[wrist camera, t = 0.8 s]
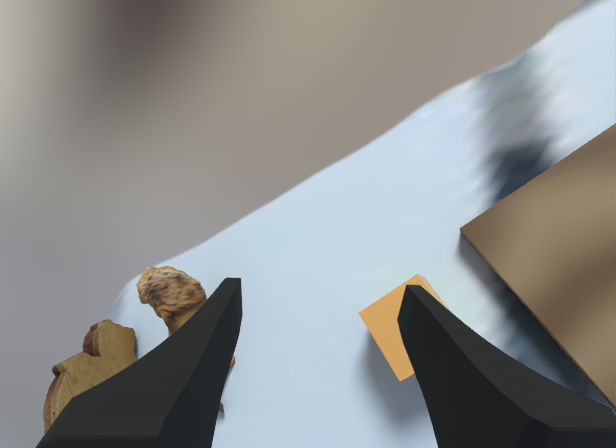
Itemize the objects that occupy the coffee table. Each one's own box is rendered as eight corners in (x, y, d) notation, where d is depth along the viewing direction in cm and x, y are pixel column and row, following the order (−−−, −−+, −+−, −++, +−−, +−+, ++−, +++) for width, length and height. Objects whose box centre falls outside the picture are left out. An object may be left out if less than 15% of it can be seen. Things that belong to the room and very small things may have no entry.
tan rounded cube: (468, 336, 23) (468, 343, 19) (409, 369, 24) (399, 381, 21) (424, 277, 25) (417, 274, 21) (373, 310, 26) (358, 312, 23)
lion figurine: (195, 277, 37) (122, 272, 29) (229, 264, 35) (160, 255, 27) (208, 412, 32) (125, 450, 24) (248, 407, 30) (171, 446, 22)
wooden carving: (120, 328, 41) (29, 336, 33) (142, 314, 40) (52, 320, 31) (138, 467, 35) (29, 524, 26) (164, 457, 34) (59, 514, 25)
